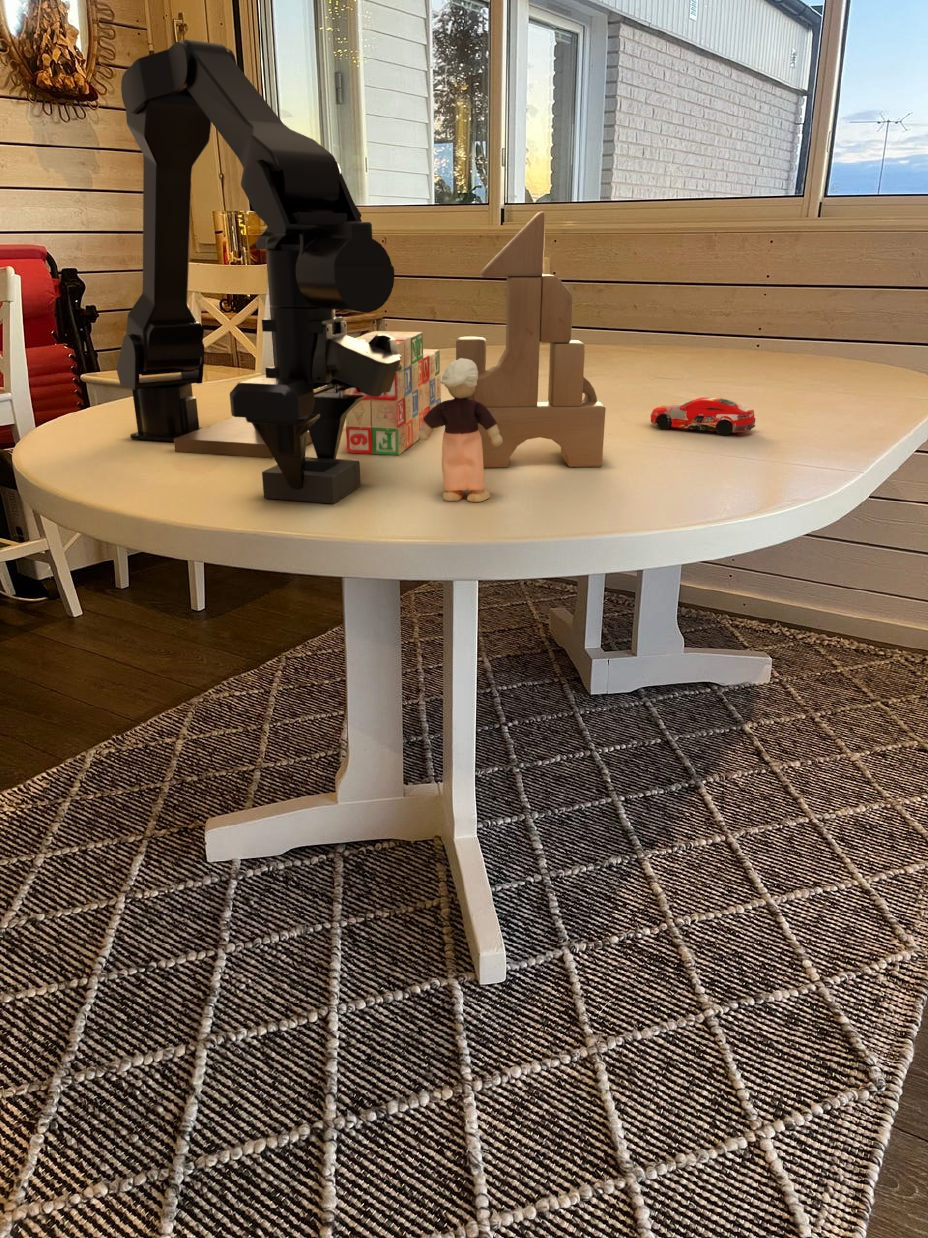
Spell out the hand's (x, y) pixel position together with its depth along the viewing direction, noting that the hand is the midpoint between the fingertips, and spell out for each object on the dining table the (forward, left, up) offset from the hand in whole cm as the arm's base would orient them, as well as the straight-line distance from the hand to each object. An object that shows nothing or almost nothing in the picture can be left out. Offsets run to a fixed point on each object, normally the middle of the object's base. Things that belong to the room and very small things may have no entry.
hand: (312, 479), depth 87 cm
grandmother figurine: (+14, +2, -2) cm, 14 cm away
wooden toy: (+17, +19, -2) cm, 26 cm away
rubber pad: (0, 0, -1) cm, 1 cm away
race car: (+35, +43, -2) cm, 55 cm away
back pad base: (-16, +21, -1) cm, 26 cm away
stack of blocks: (-1, +28, -2) cm, 28 cm away
